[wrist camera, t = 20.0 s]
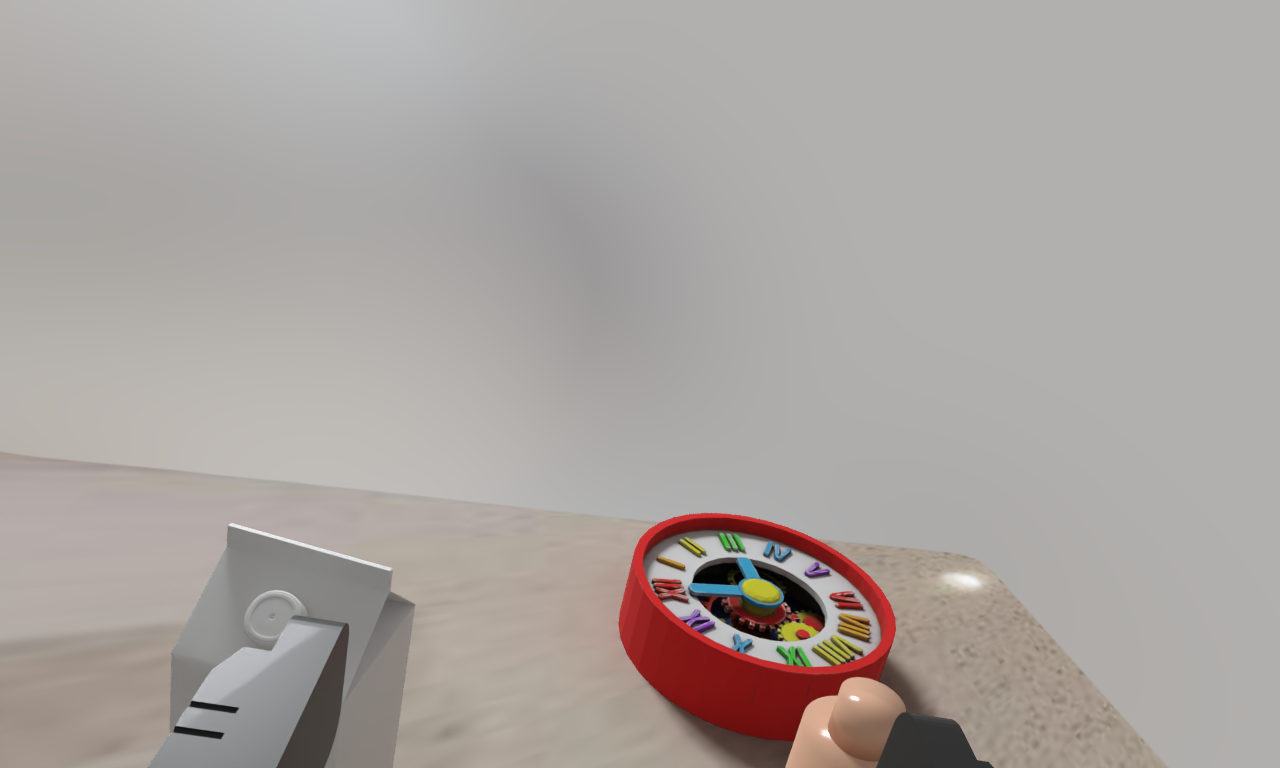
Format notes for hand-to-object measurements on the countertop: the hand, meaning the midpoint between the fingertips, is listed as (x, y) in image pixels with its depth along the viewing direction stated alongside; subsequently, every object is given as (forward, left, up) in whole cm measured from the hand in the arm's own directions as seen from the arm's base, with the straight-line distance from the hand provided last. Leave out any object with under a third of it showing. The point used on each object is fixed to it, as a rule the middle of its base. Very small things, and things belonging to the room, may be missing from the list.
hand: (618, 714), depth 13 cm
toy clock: (-28, +39, -32) cm, 58 cm away
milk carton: (-23, +3, -32) cm, 39 cm away
